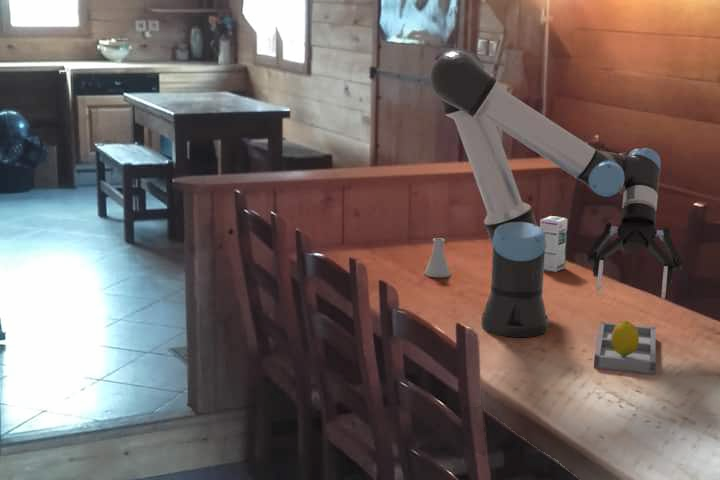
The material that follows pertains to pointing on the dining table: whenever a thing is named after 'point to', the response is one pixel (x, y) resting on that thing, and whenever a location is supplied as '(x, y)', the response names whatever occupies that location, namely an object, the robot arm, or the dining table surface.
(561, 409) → the dining table surface
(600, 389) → the dining table surface
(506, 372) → the dining table surface
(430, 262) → the flask
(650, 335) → the grey divided tray
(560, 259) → the syrup box
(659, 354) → the dining table surface
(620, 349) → the lemon
